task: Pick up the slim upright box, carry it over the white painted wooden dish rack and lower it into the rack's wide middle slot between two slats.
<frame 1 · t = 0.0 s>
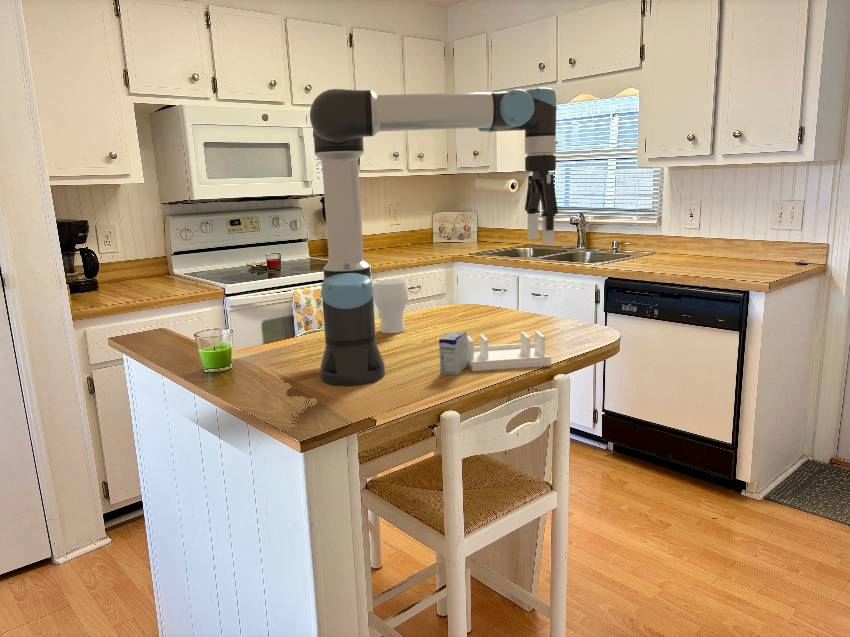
hand: (540, 241, 162), 28 cm above the counter, fingers open, 13 cm apart
cup: (392, 331, 193), on the counter
rack: (505, 360, 158), on the counter
box: (454, 371, 151), on the counter
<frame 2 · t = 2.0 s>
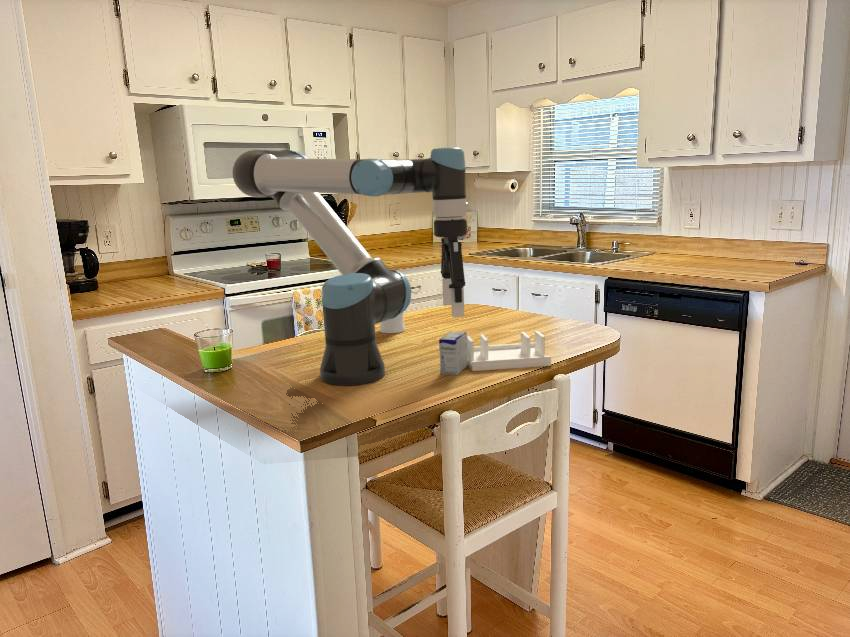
hand: (453, 310, 148), 14 cm above the counter, fingers open, 13 cm apart
nothing on the counter moved.
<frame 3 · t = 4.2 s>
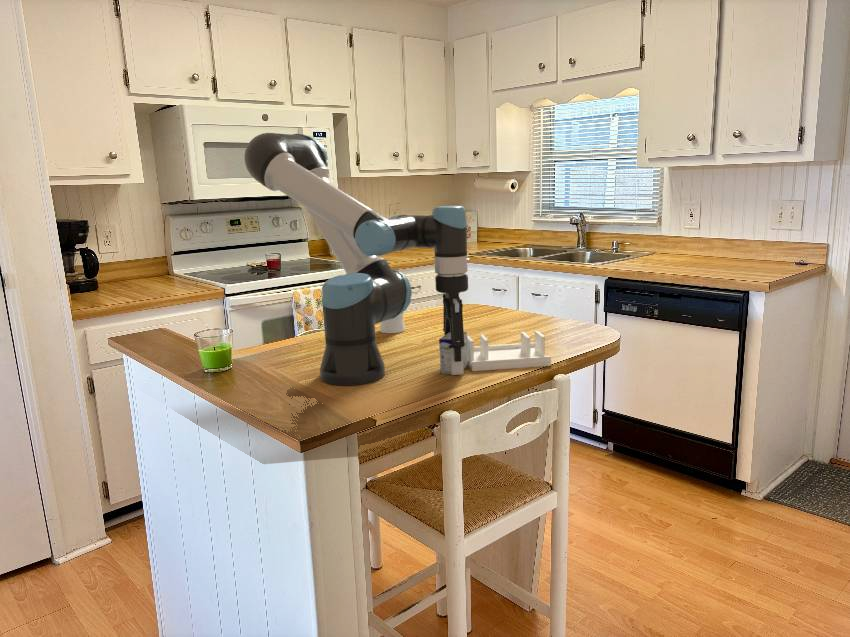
hand: (454, 368, 151), 0 cm above the counter, fingers closed on box, 9 cm apart
box: (454, 370, 151), on the counter, touching gripper
everything else where it was.
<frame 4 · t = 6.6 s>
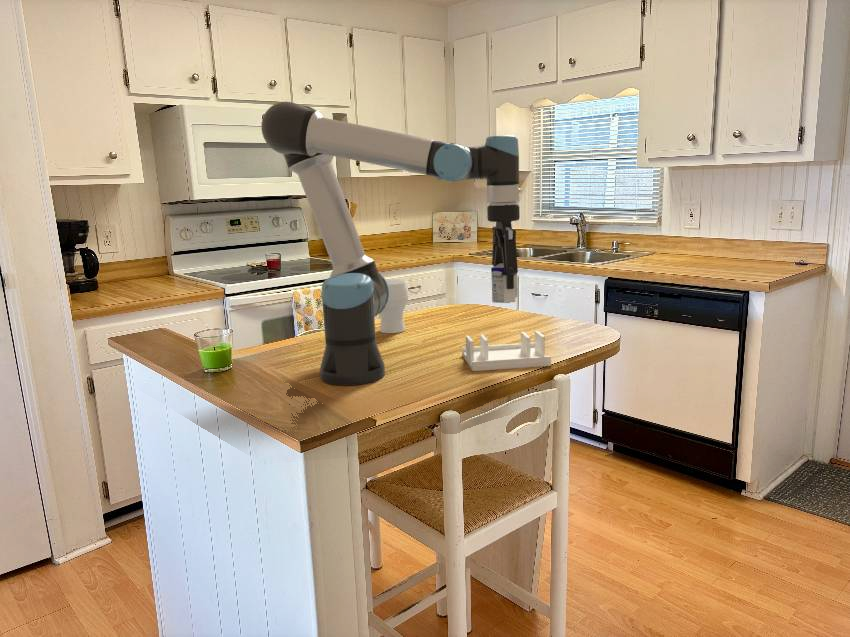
hand: (504, 298, 154), 16 cm above the counter, fingers closed on box, 9 cm apart
box: (504, 300, 154), point 15 cm above the counter, touching gripper
everything else where it was.
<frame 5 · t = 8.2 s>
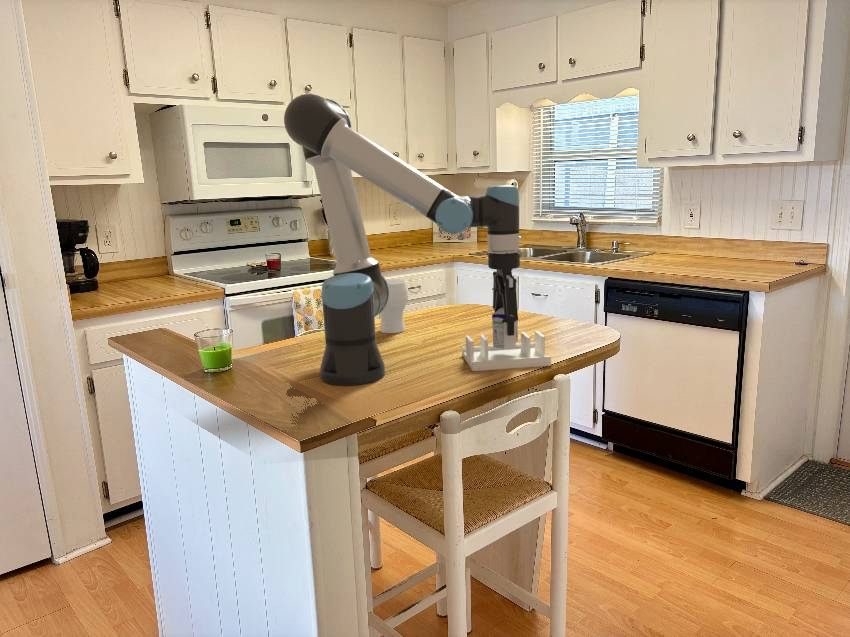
hand: (505, 343, 157), 4 cm above the counter, fingers closed on box, 9 cm apart
box: (505, 345, 157), point 4 cm above the counter, touching gripper
everything else where it was.
when the fingers open (3 cm above the counter, at t = 9.3 s): box drops 2 cm, resting on rack.
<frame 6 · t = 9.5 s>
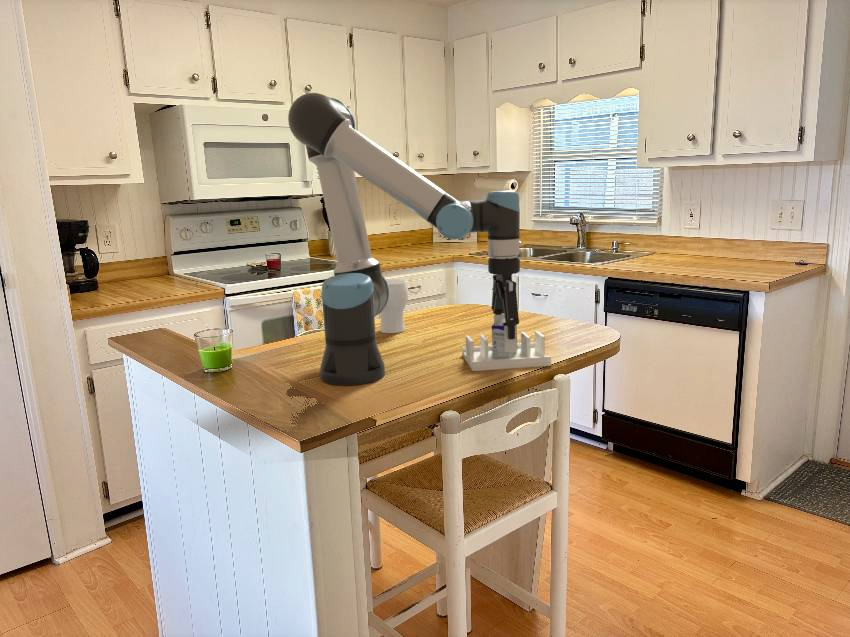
hand: (504, 345, 157), 4 cm above the counter, fingers open, 11 cm apart
box: (504, 356, 157), point 1 cm above the counter, touching rack
everything else where it was.
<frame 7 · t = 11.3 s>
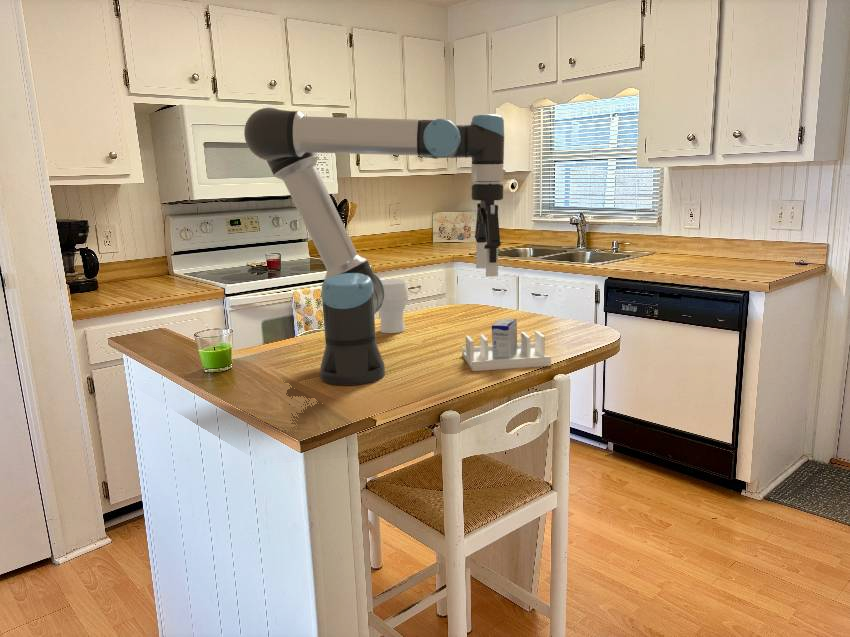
hand: (486, 272, 156), 22 cm above the counter, fingers open, 13 cm apart
nothing on the counter moved.
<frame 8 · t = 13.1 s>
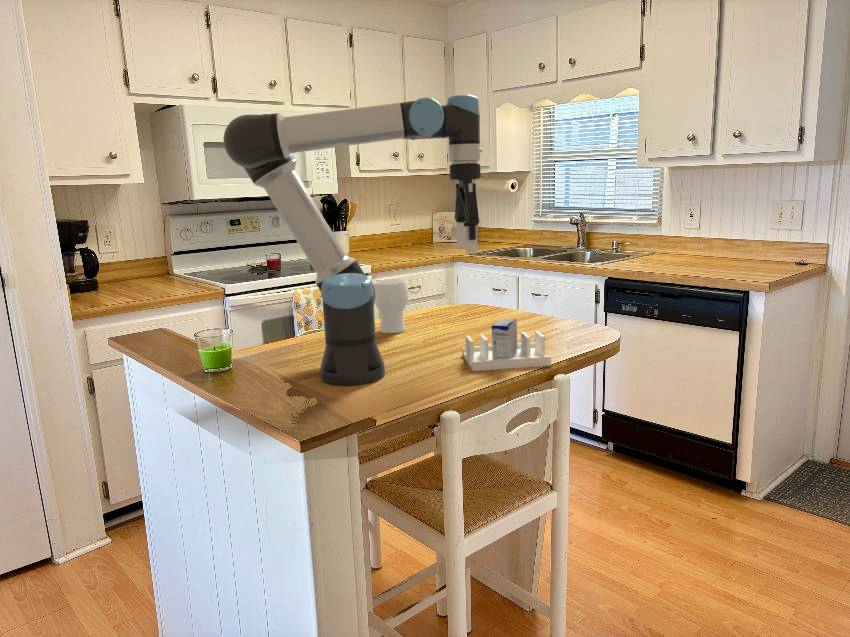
hand: (466, 250, 159), 27 cm above the counter, fingers open, 13 cm apart
nothing on the counter moved.
at the end: box inside the target area on the rack (0.1 cm from its centre), point 1.0 cm above the rack's base; box tilted 0°; the gripper is holding nothing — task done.
